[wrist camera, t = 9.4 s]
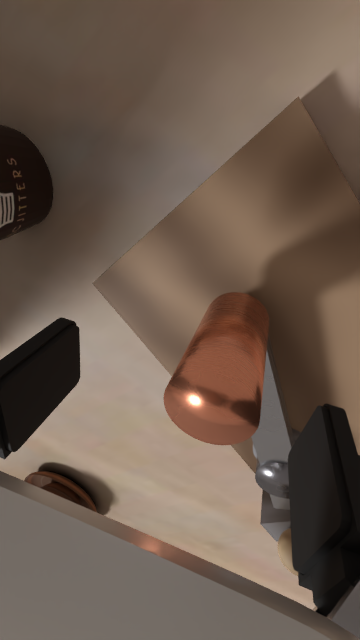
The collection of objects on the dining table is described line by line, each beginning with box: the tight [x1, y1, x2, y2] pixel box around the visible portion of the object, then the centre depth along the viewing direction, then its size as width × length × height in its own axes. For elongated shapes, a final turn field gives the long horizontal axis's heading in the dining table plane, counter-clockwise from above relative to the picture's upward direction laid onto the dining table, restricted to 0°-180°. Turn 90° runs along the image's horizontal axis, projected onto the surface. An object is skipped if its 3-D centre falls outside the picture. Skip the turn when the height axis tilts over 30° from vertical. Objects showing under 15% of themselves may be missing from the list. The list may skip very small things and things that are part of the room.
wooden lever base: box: [92, 97, 360, 576], centre depth 18 cm, size 16×26×7 cm, turn 41°
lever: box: [164, 292, 295, 510], centre depth 16 cm, size 18×4×8 cm, turn 20°
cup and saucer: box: [25, 471, 96, 512], centre depth 40 cm, size 12×12×6 cm
